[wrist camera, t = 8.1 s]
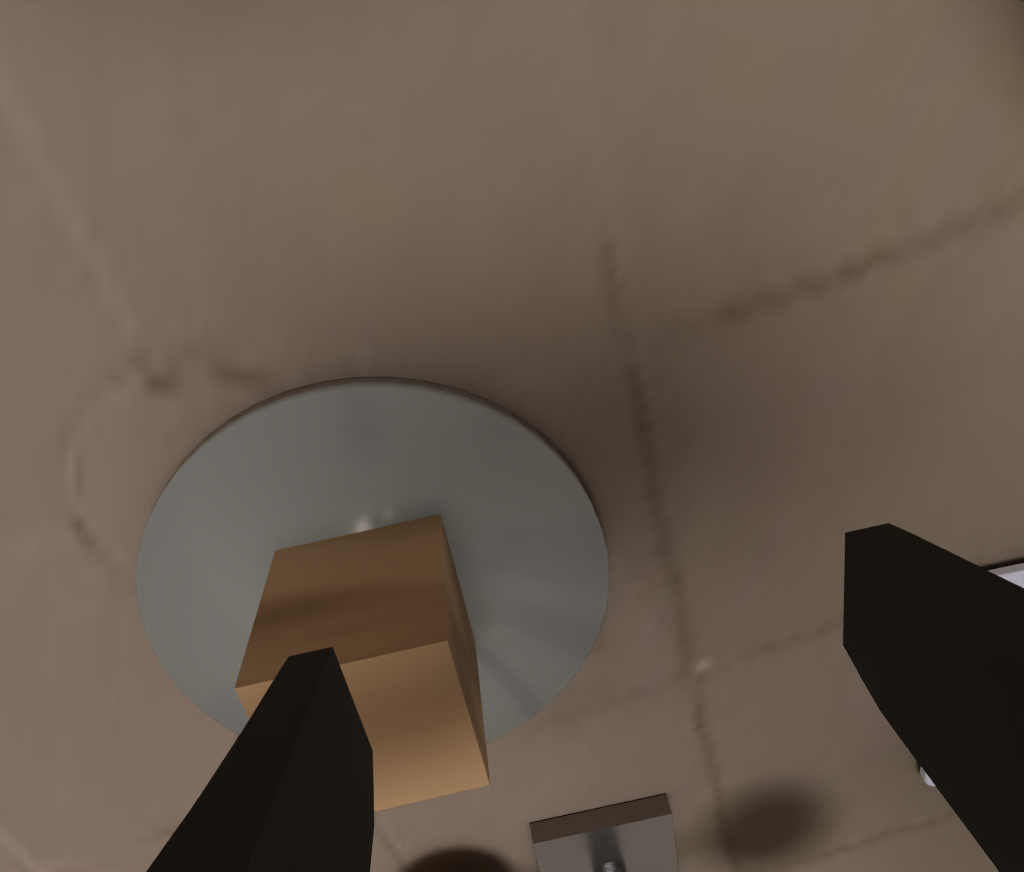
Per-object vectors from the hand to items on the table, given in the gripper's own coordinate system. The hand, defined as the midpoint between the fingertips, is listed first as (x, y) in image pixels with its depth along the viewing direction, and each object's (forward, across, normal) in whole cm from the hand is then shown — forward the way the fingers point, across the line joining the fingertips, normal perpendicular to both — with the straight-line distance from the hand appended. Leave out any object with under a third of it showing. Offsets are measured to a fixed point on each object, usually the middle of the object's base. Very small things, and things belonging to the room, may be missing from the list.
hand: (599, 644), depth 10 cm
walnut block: (+9, +5, +5) cm, 12 cm away
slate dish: (+10, +5, +6) cm, 13 cm away
